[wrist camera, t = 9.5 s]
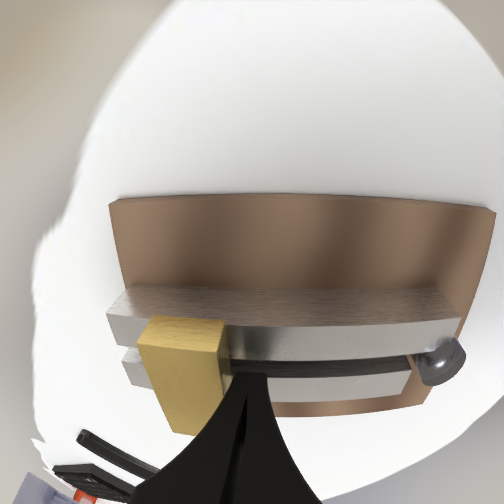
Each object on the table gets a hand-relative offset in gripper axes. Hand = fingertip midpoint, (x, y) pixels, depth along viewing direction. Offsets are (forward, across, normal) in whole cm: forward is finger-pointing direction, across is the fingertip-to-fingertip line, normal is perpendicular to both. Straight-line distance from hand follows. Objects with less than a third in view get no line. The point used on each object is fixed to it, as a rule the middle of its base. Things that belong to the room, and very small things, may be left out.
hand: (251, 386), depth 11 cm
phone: (+6, +20, +30) cm, 37 cm away
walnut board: (+5, -3, +1) cm, 6 cm away
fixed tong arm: (+4, -2, 0) cm, 5 cm away
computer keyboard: (+6, +44, +62) cm, 76 cm away
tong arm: (+4, 0, +2) cm, 4 cm away
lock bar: (+1, +3, 0) cm, 3 cm away
